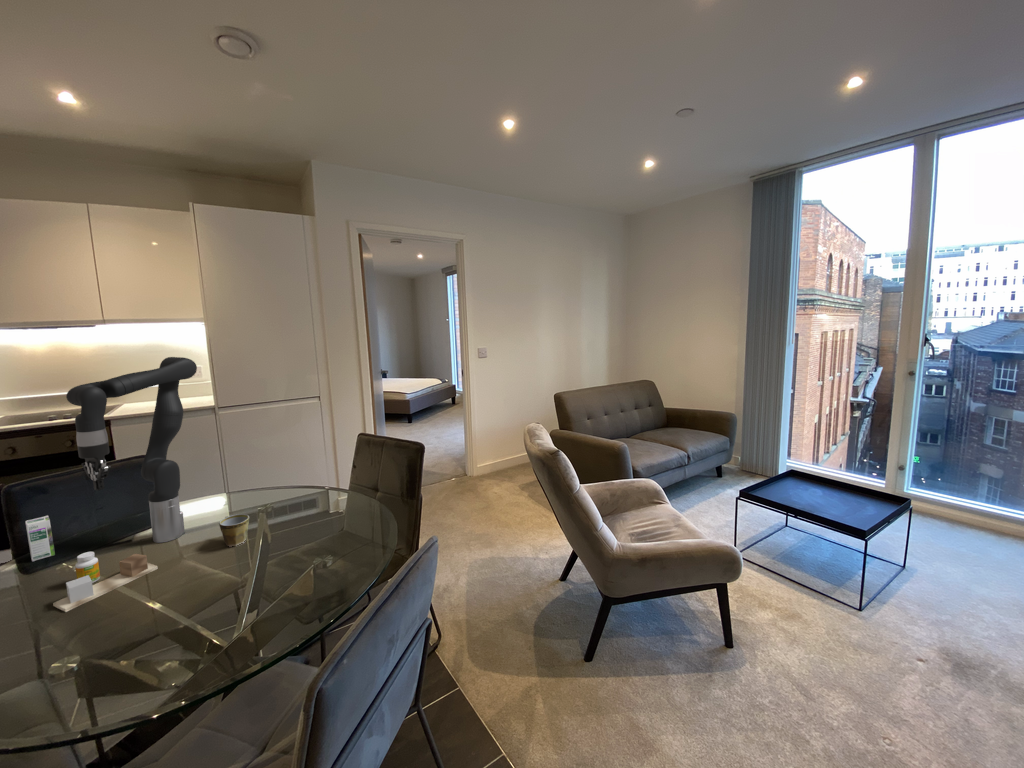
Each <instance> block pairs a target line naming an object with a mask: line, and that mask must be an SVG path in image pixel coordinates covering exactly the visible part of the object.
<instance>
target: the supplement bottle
mask: <svg viewBox="0 0 1024 768" xmlns="http://www.w3.org/2000/svg"><path fill="white" fill-rule="evenodd" d="M76 559H77V560H76V561H77V562H76V563H75V566H74V567H75V574H76V579H78V578H81V577H84V576H87V575H89V577H90V578H91V580H92V584H94V583H95V582H97V581H99V580H100V579H101V574H100V573H101V572H100V566H99V564H100V563H99V559H98V557H96V556H95V552H94V551H87V552H83V553H81V554H79V555H77V556H76Z"/></svg>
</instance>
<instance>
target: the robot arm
mask: <svg viewBox="0 0 1024 768" xmlns="http://www.w3.org/2000/svg"><path fill="white" fill-rule="evenodd" d="M197 371H198V366H197V364H196V362H195V361H194V360H192V359H190V358H188V357H180V356H169V357H165V358H164V359H163V360H162V361H161V362H160V364H159V368H158V367H157V368H154V369H147V370H144V371H136V372H131V373H130V372H129V373H126V374H122V375H119V376H115V377H111V378H108V379H105V380H100V381H95V382H89V383H84V384H83V383H82V384H79V385H77V386H73V387H72V388H70V389H69V390H68V391H67V392H66V396H65V397H66V400H67V401H68V403H70V404H72V405H74V406H77V407H80V413H79V414H77V415H76V416H75V419H74V424H75V430H76V431H75V432H76V437H75V438H76V445H77V452H78V458H80V459H84V461H85V462H82V463H81V466H82V469H83V471H84V472H85V474H86V476H87V478H89V479H91V480H92V483H93V484H92V485H93V490H94V491H102V490H105V483H104V482H105V481H104V479H106V478H108V477H109V474H110V471H111V469H112V467H111V465H107V460H106V458H105V456H106V455H109V454H110V445H109V437H108V432H107V429H106V422H105V414H106V409H107V403H108V399H110V398H111V399H112V398H119V397H123V396H127V395H129V394H132V393H135V392H139V391H142V390H144V389H145V390H146V389H148V388H152V387H154V386H158V387H157V394H156V401H155V407H154V412H153V416H152V417H153V418H152V422H151V429H150V435H149V438H148V445H147V448H146V451H145V456H144V458H143V461H142V464H141V468H140V469H141V470H140V475H141V477H142V479H144V480H145V481H147V482H152V483H154V490H153V491H150V492H149V493H148V495H147V496H148V498H147V499H148V504H149V514H150V516H149V517H150V525H151V534H152V535H151V536H152V541H153V543H167V542H171V541H174V540H175V539H177V538H180V537H182V535H184V534H185V533H186V531H185V521H184V512H183V511H181V508H180V507H181V505H180V497H179V491H180V489H181V471H180V467H179V465H178V462H176V461H174V460H171V459H167V457H168V456H167V455H168V450H169V446H170V444H171V442H172V441H174V439H175V438H176V436H177V435H178V433H179V432H180V429H181V427H182V424H183V418H184V407H183V404H182V401H181V398H180V395H179V385H180V381H182V380H187V379H191V378H193V376H195V375H196V374H197Z"/></svg>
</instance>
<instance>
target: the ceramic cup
mask: <svg viewBox="0 0 1024 768" xmlns="http://www.w3.org/2000/svg"><path fill="white" fill-rule="evenodd" d="M249 523H250V516H249V515H248V514H244V513H237V514H232V515H229V516H225V517H224V518H221V520H220V521H219V523H218V526H219V530H220V531H221V534H222V537H223V540H224V544H225V546H227V547H228V546H229V547H228V548H233V547H232V546H236V547H238V546H237V545H239V544H241V543H243V544H245V542H246V541H247V538H248V537H247V536H248V529H249ZM245 540H246V541H245ZM244 541H245V542H244ZM241 545H242V544H241ZM239 546H240V545H239Z"/></svg>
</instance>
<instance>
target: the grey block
mask: <svg viewBox="0 0 1024 768" xmlns="http://www.w3.org/2000/svg"><path fill="white" fill-rule="evenodd" d="M92 585H93V583H92V580H91V578H90V577H89V575H87V576H84V577H81V578H78V579H77V578H76V579H73V580H69V581H67V582H65V586H66V593H67V597H68V598H69V600H70V603H74V602H77V601H79V600H82V599H85V598H87V597H90V596H93V595H94V593H93V586H92Z"/></svg>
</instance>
